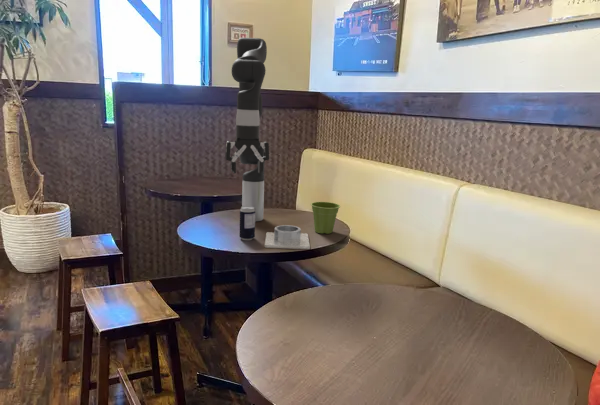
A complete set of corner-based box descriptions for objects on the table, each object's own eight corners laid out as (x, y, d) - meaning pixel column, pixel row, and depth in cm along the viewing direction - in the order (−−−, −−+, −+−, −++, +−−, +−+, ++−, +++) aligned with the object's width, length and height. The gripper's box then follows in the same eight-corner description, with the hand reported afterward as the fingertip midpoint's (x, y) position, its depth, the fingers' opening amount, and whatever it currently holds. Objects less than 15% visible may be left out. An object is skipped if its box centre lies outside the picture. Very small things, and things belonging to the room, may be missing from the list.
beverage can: (256, 237, 172) (256, 206, 170) (253, 241, 167) (253, 209, 164) (241, 236, 173) (241, 205, 170) (237, 240, 167) (238, 208, 165)
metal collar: (266, 234, 176) (266, 222, 175) (307, 236, 177) (308, 223, 176) (264, 247, 160) (265, 234, 159) (309, 249, 161) (310, 235, 160)
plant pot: (334, 237, 177) (336, 209, 174) (305, 233, 180) (306, 205, 178) (341, 230, 188) (343, 203, 185) (314, 226, 191) (315, 200, 189)
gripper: (266, 123, 153) (265, 171, 157) (224, 122, 149) (224, 171, 153) (271, 125, 146) (270, 174, 150) (227, 124, 142) (226, 175, 146)
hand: (247, 172), depth 152 cm, fingers open, 8 cm apart
